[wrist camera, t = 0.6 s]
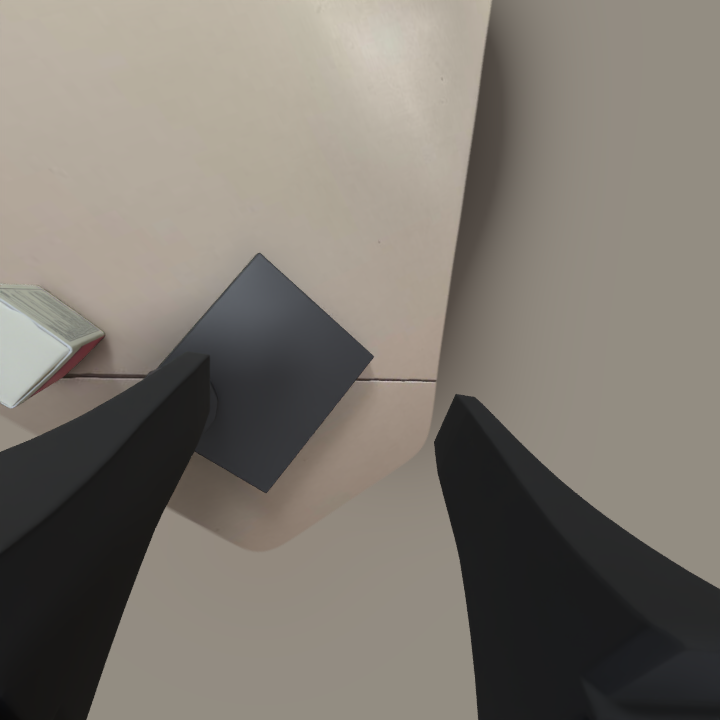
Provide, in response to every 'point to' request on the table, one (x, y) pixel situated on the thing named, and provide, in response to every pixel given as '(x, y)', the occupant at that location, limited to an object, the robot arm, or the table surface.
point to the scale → (268, 372)
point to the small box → (38, 341)
